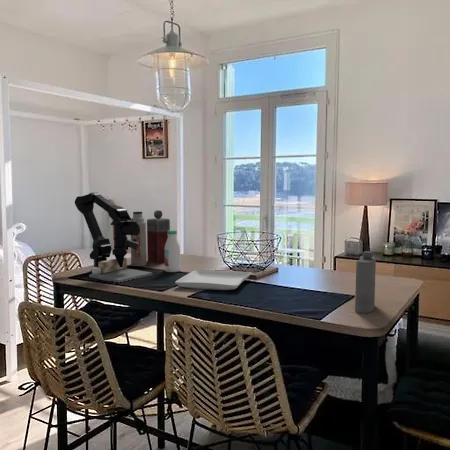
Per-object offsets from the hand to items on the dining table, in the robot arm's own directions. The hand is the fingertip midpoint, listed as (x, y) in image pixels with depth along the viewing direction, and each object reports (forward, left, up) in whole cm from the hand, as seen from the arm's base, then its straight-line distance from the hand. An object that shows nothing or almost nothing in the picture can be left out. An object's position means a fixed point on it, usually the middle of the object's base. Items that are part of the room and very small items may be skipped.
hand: (121, 267), depth 226 cm
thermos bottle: (-11, +21, -3) cm, 24 cm away
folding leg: (-4, -2, -2) cm, 5 cm away
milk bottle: (+15, +19, -3) cm, 25 cm away
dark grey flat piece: (+3, -4, -3) cm, 6 cm away
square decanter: (-10, +34, -3) cm, 36 cm away
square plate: (+49, +9, -4) cm, 50 cm away
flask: (+116, +10, -3) cm, 116 cm away
